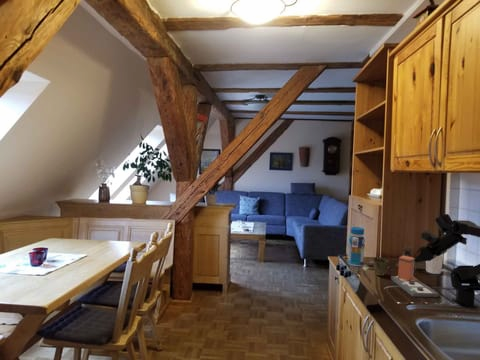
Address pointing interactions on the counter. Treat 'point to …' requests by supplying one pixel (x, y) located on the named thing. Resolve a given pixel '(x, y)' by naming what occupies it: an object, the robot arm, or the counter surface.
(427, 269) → the white cup
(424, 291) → the breaker panel
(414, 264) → the phone stand
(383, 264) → the cup
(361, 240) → the beverage bottle
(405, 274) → the block
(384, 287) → the counter surface
